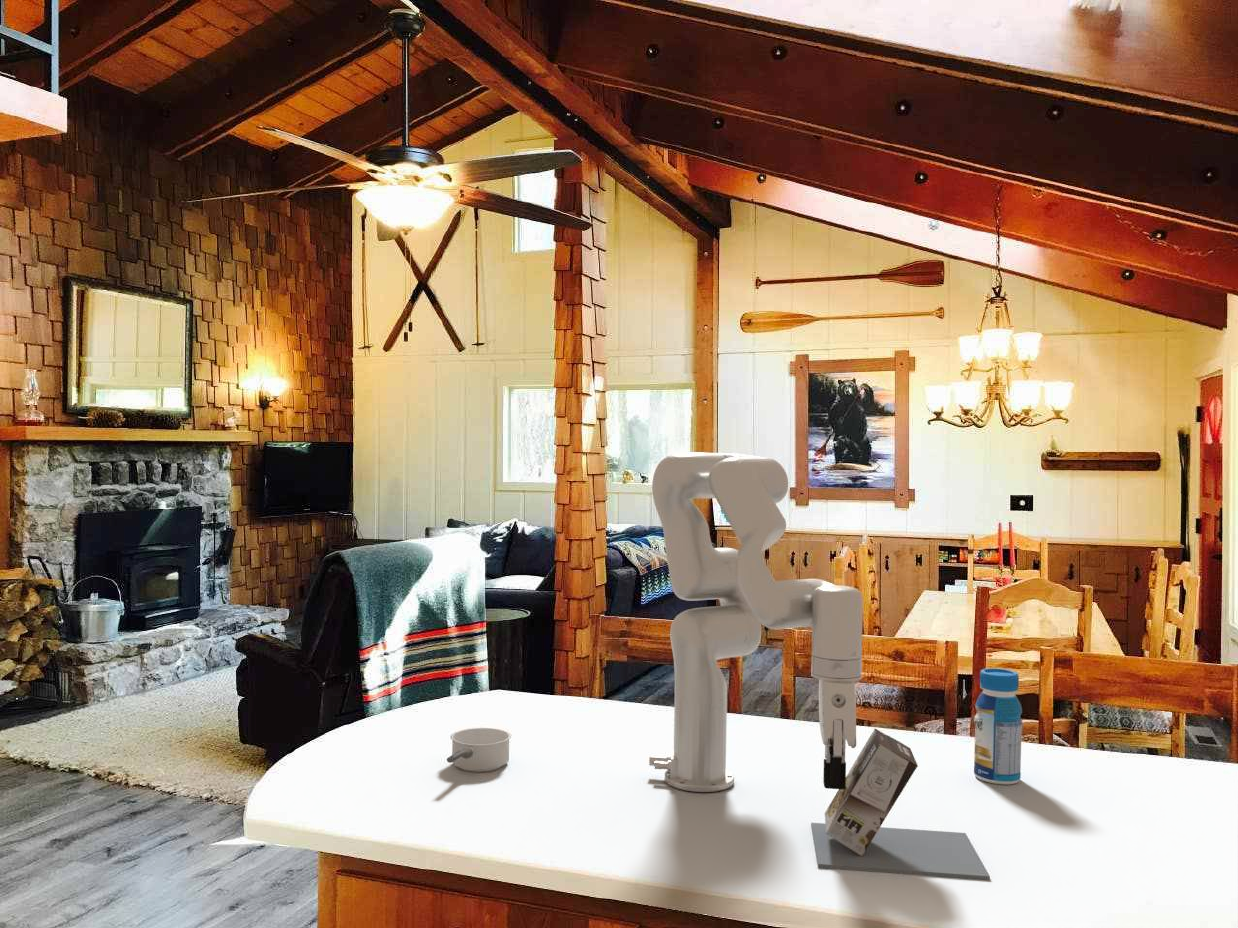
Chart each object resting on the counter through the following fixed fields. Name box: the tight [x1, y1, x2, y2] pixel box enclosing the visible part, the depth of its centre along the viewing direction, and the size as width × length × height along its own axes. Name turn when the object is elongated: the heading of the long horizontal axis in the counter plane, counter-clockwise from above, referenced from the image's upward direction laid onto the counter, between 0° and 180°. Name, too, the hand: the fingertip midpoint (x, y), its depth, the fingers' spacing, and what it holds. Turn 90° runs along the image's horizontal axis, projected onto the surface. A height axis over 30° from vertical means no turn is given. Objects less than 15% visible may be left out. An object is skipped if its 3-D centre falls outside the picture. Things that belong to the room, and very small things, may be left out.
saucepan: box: [446, 727, 512, 773], centre depth 182 cm, size 12×20×6 cm, turn 166°
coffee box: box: [824, 728, 919, 856], centre depth 149 cm, size 9×6×16 cm
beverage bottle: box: [973, 667, 1024, 786], centre depth 183 cm, size 8×8×20 cm
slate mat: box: [810, 822, 991, 881], centre depth 148 cm, size 24×16×1 cm, turn 82°
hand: (834, 786), depth 149 cm, fingers closed
